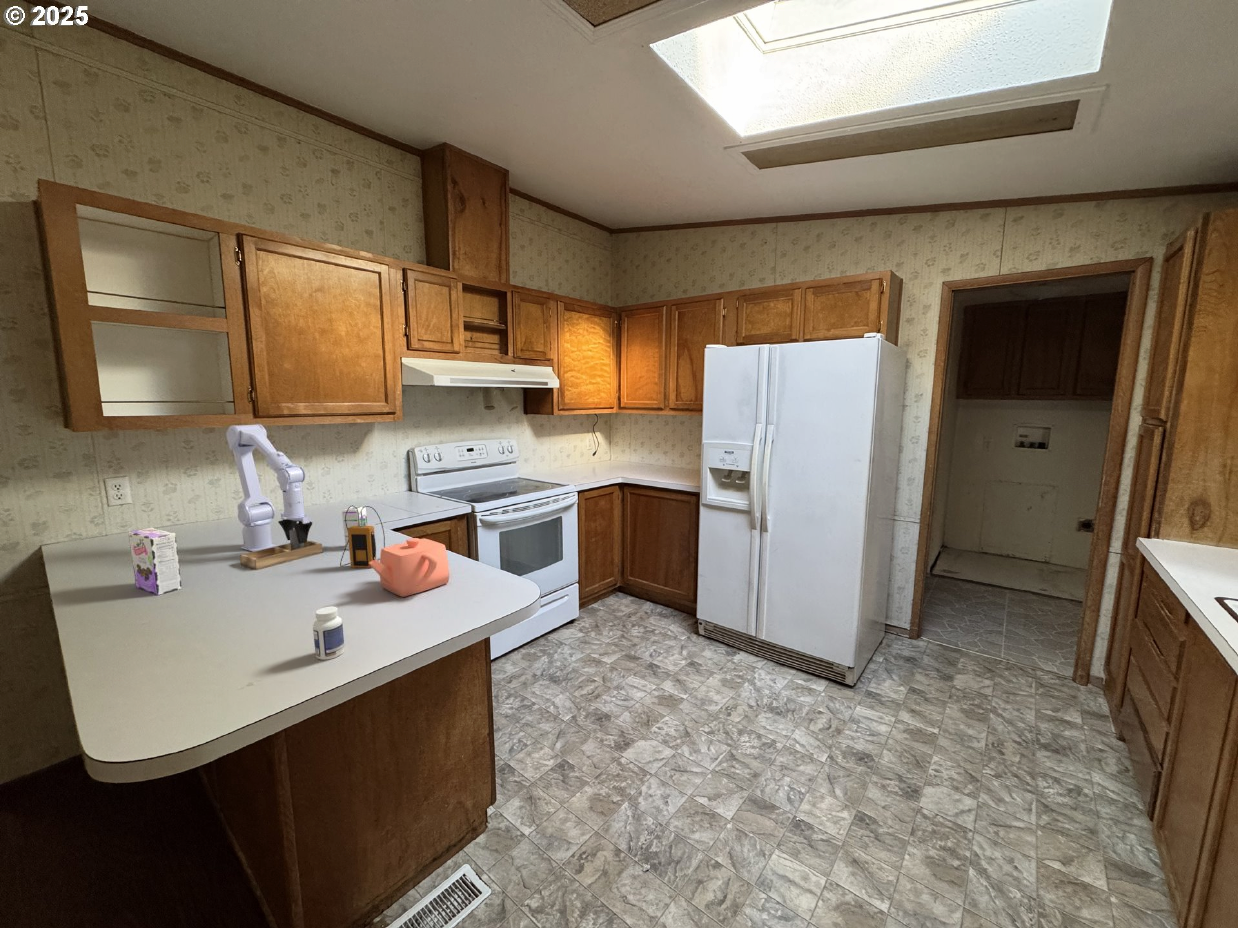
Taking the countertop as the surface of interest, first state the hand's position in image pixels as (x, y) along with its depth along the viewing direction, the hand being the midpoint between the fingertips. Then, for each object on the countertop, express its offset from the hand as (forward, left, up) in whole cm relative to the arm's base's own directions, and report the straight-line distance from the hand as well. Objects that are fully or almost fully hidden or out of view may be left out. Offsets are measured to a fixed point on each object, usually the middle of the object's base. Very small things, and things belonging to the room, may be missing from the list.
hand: (297, 541), depth 176 cm
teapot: (+60, -1, -5) cm, 60 cm away
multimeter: (+30, +7, -5) cm, 31 cm away
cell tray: (0, -5, -5) cm, 7 cm away
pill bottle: (+78, -33, -5) cm, 85 cm away
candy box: (-2, -37, -5) cm, 37 cm away
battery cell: (0, 0, -4) cm, 4 cm away
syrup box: (+10, +15, -5) cm, 19 cm away
